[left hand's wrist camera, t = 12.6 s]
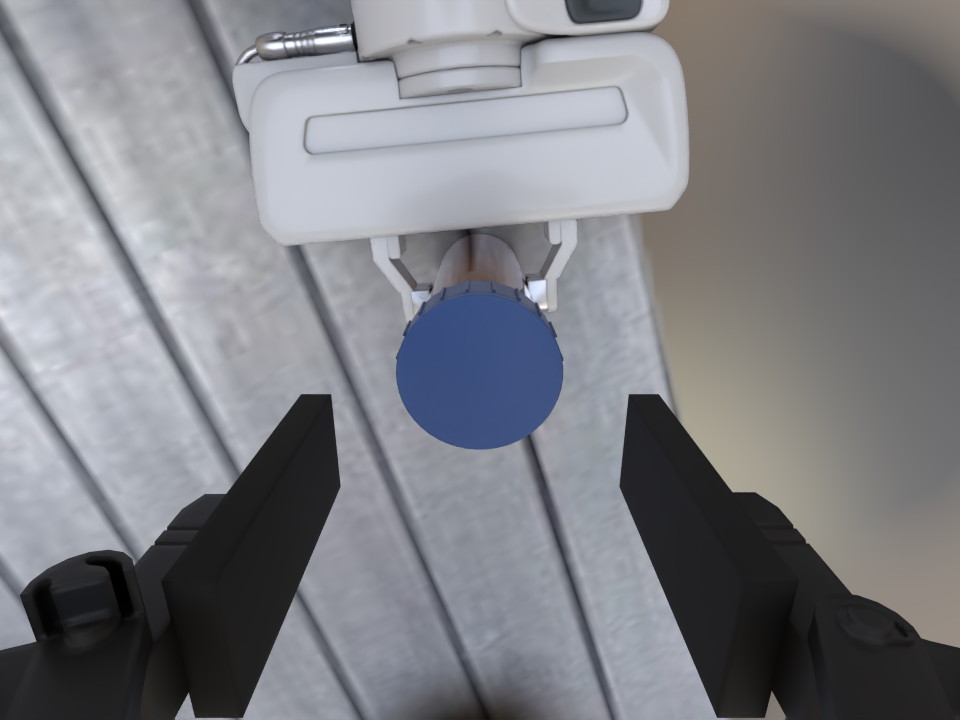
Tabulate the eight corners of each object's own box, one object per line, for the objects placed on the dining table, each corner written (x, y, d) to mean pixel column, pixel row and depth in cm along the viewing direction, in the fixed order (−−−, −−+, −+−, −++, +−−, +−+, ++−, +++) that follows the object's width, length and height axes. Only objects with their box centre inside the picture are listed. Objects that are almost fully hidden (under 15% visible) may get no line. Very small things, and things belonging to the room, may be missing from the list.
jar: (470, 326, 36) (463, 460, 20) (424, 264, 35) (377, 355, 19) (534, 283, 35) (580, 387, 19) (489, 216, 34) (497, 270, 18)
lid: (462, 449, 22) (460, 479, 20) (371, 337, 20) (359, 357, 18) (585, 371, 21) (596, 394, 19) (499, 246, 19) (501, 257, 17)
